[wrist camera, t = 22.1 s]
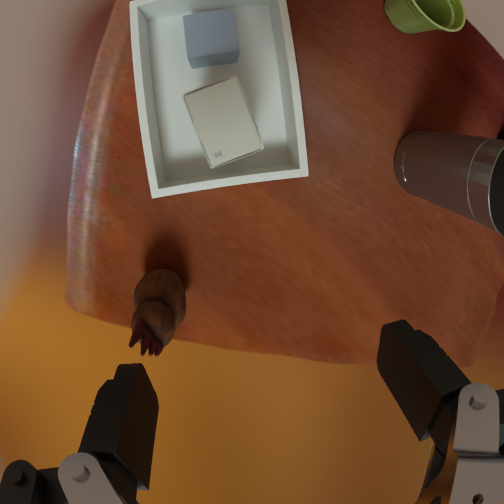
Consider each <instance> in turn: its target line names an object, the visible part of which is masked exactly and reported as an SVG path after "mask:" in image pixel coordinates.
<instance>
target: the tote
mask: <svg viewBox="0 0 504 504" xmlns="http://www.w3.org/2000/svg"><path fill="white" fill-rule="evenodd" d="M227 9H234V13H235V19H236V26H237V33H238V40H239V47H240V53H239V57H238V61H237V63H230V64H222V65H215V66H208V67H201V68H195V69H192V68H191V65H190V63H189V61H188V58H187V49H186V41H185V32H184V23H183V16H184V15H190V14H196V13H203V12H210V11H218V10H227ZM130 25H131V42H132V56H133V68H134V79H135V88H136V97H137V106H138V114H139V121H140V129H141V136H142V142H143V149H144V155H145V161H146V167H147V173H148V179H149V184H150V190H151V195H152V198H157V197H163V196H168V195H174V194H180V193H186V192H192V191H198V190H204V189H211V188H217V187H224V186H231V185H238V184H246V183H253V182H261V181H269V180H277V179H286V178H295V177H305V176H308V164H307V153H306V142H305V132H304V123H303V113H302V105H301V96H300V88H299V81H298V73H297V66H296V59H295V52H294V45H293V39H292V32H291V26H290V20H289V15H288V9H287V3H286V0H135V1H132V2H130ZM233 76H236V77H237V78H238V80H239V83H240V85H241V87H242V89H243V92H244V94H245V96H246V98H247V101H248V103H249V106H250V108H251V111H252V113H253V116H254V118H255V121H256V124H257V127H258V129H259V132H260V136H261V139H262V142H263V145H264V149H263V150H261V151H258V152H256V153H254V154H251V155H249V156H246V157H243V158H241V159H238V160H235V161H232V162H230V163H227V164H224V165H221V166H218V167H216V168H212V169H211V168H210V166H209V163H208V161H207V158H206V156H205V153H204V151H203V148H202V146H201V144H200V141H199V139H198V136H197V134H196V131H195V129H194V126H193V124H192V121H191V119H190V116H189V113H188V111H187V108H186V105H185V103H184V100H183V97H182V96H183V94H184V93H186V92H189V91H191V90H194V89H196V88H199V87H202V86H205V85H208V84H211V83H214V82H217V81H220V80H223V79H227V78H230V77H233Z"/></svg>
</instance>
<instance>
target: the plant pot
mask: <svg viewBox="0 0 504 504" xmlns="http://www.w3.org/2000/svg"><path fill="white" fill-rule="evenodd" d="M384 11H385V14H386V15H387V16H388V18H389V20H390V22H391V23H392V24H393V25H394V26H395V27H396V28H397V29H399V30H400V31H402V32H405V33H417V32H423V31H430V30H437V29H439V30H445V31H449V32H455V31H459V30H460V29H462V27H463V26H464V24H465V18H466V16H465V10H464V6H463V3H462V1H461V0H386V1H385V4H384Z"/></svg>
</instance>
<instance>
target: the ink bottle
mask: <svg viewBox="0 0 504 504" xmlns="http://www.w3.org/2000/svg"><path fill="white" fill-rule="evenodd" d="M498 139H500V140H504V130H503V131H502V132H501V133H500V135H499V137H498Z"/></svg>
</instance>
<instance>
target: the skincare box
mask: <svg viewBox="0 0 504 504" xmlns="http://www.w3.org/2000/svg"><path fill="white" fill-rule="evenodd" d="M182 97H183V100H184V103H185V105H186V108H187V111H188V113H189V116H190V119H191V121H192V124H193V126H194V129H195V131H196V134H197V136H198V139H199V141H200V144H201V146H202V148H203V151H204V153H205V156H206V158H207V161H208V163H209V166H210V168H211V169H212V168H216V167H218V166H221V165H224V164H227V163H230V162H232V161H235V160H238V159H241V158H243V157H246V156H249V155H251V154H254V153H256V152H258V151H261V150H263V149H264V145H263V142H262V139H261V136H260V132H259V129H258V127H257V124H256V121H255V118H254V116H253V113H252V111H251V108H250V106H249V103H248V101H247V98H246V96H245V94H244V92H243V89H242V87H241V85H240V83H239V80H238V78H237V77H236V76H233V77H230V78H227V79H223V80H220V81H217V82H214V83H211V84H208V85H205V86H202V87H199V88H196V89H194V90H191V91H189V92H186V93H184V94H183V96H182Z"/></svg>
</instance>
